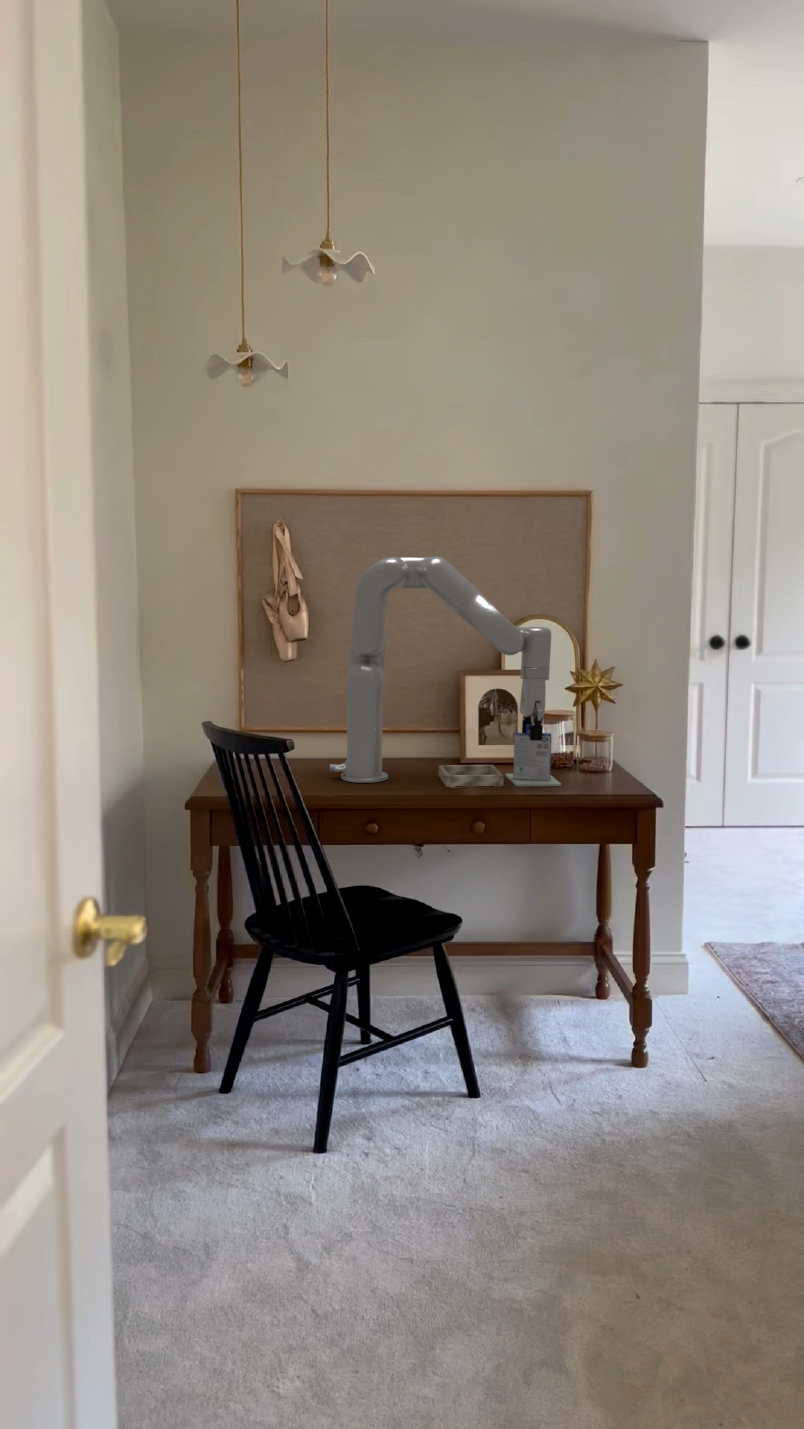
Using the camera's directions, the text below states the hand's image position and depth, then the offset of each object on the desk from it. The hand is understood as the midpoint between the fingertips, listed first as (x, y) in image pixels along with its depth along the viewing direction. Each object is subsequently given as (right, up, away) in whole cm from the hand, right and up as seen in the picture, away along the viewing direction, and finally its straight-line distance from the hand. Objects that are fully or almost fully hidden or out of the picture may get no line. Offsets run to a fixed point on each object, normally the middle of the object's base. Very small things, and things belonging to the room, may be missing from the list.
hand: (531, 737), depth 293 cm
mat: (0, -12, +2) cm, 12 cm away
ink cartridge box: (0, -11, +2) cm, 11 cm away
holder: (-16, -12, 0) cm, 20 cm away
